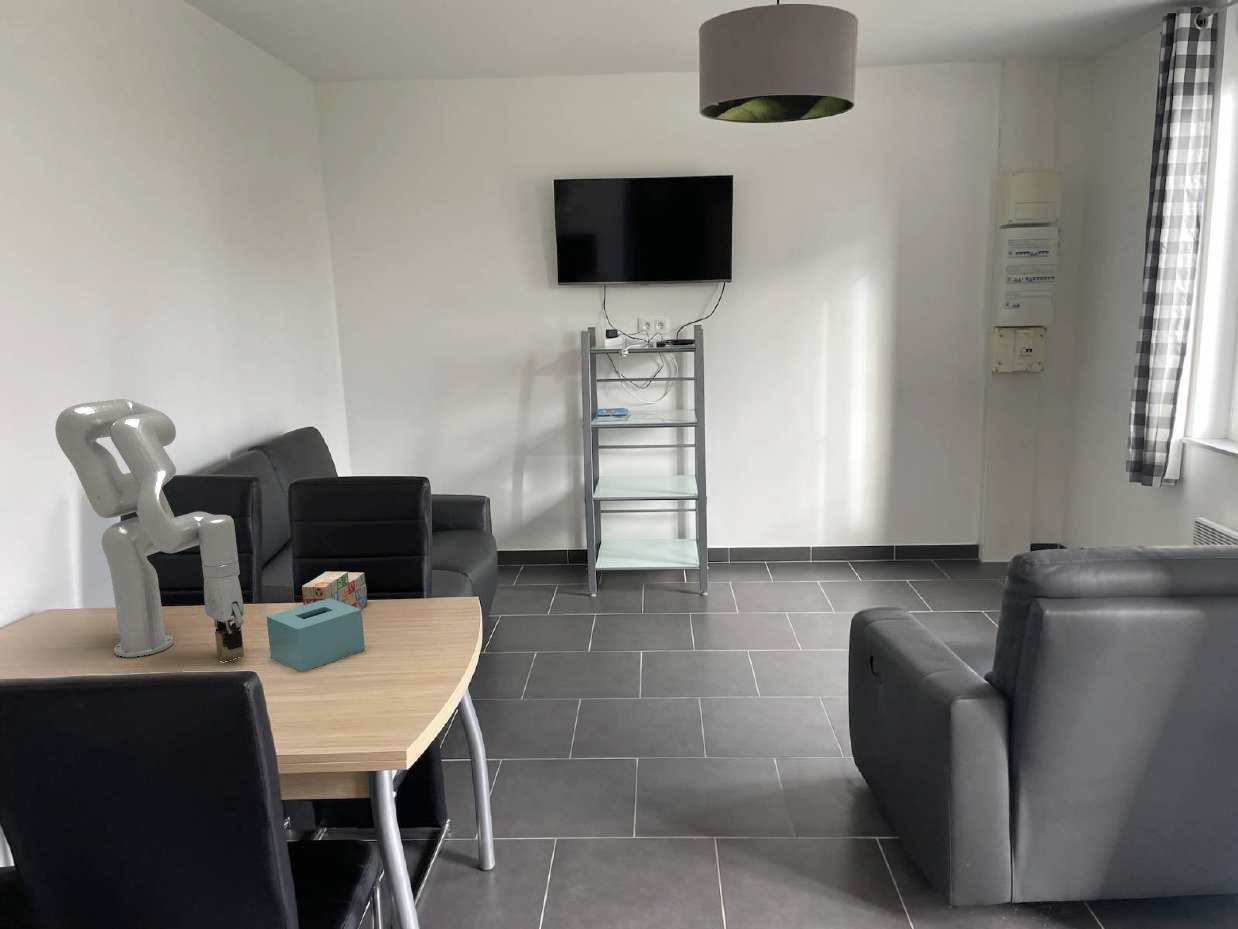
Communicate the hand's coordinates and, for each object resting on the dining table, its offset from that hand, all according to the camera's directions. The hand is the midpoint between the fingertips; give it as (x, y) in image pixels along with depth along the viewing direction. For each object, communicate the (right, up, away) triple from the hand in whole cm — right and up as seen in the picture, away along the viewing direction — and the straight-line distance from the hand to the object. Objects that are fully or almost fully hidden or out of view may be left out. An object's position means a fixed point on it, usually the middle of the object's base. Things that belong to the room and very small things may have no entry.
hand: (229, 644), depth 205 cm
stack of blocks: (+17, +1, +26) cm, 31 cm away
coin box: (+20, -2, +2) cm, 20 cm away
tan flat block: (0, -3, +1) cm, 3 cm away
